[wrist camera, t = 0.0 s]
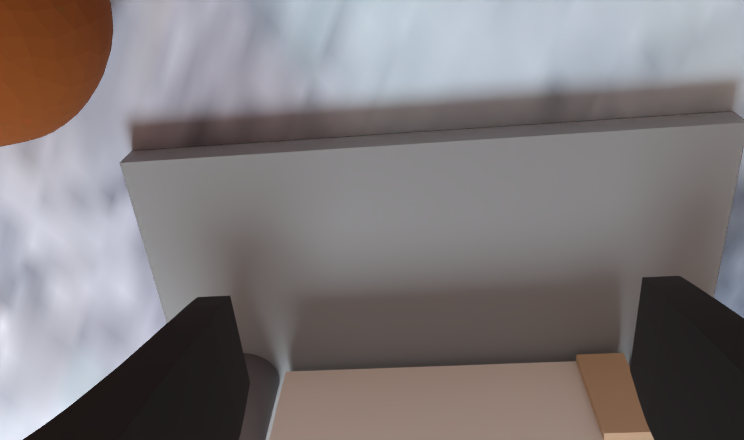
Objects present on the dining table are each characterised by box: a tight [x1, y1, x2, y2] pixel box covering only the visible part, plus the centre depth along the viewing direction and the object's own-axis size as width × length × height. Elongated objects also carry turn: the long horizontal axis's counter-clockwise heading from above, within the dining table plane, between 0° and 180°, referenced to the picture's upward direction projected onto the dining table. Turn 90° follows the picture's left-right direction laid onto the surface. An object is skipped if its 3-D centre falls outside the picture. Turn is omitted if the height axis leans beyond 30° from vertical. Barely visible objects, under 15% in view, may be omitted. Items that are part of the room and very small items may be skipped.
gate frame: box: [120, 111, 744, 440], centre depth 21 cm, size 18×19×8 cm
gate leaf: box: [269, 353, 654, 440], centre depth 22 cm, size 12×2×4 cm, turn 95°
